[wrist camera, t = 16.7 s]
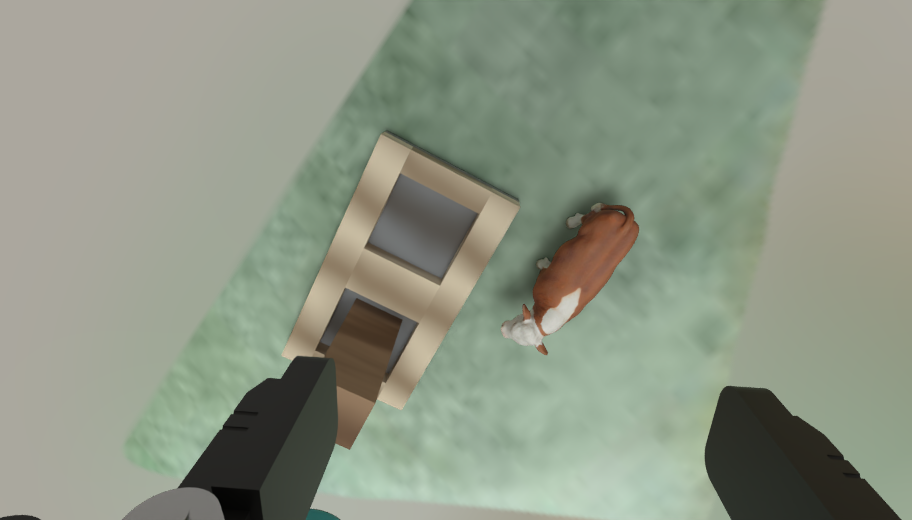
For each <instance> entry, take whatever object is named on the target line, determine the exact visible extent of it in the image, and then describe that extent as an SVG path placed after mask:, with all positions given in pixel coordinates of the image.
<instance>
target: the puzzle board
mask: <svg viewBox="0 0 912 520" xmlns="http://www.w3.org/2000/svg"><path fill="white" fill-rule="evenodd" d="M519 209H520V203H519V200H518V199H516V198H514V197H512V196H510V195H509V194H507V193H505V192H503V191H501V190H499V189H497V188H495V187H493V186H491V185H490V184H488V183H486V182H484V181H482V180H480V179H478V178H476V177H474V176H472V175H471V174H469V173H467V172H465V171H463V170H461V169H459V168H457V167H455V166H453V165H452V164H450V163H448V162H446V161H444V160H442V159H440V158H438V157H436V156H434V155H433V154H431V153H429V152H427V151H425V150H423V149H421V148H419V147H417V146H415V145H414V144H412V143H410V142H408V141H406V140H404V139H402V138H400V137H398V136H396V135H395V134H393V133H391V132H389V131H387V130H386V131H385V132H383V133H382V134H381V135H380V137H379V139H378V142H377V144H376V146H375V148H374V150H373V153H372V155H371V157H370V159H369V162H368V164H367V166H366V168H365V170H364V173H363V175H362V177H361V179H360V182H359V184H358V186H357V188H356V191H355V193H354V195H353V197H352V199H351V202H350V204H349V206H348V208H347V211H346V213H345V215H344V217H343V219H342V222H341V224H340V226H339V228H338V231H337V233H336V235H335V237H334V239H333V242H332V244H331V246H330V248H329V251H328V253H327V255H326V257H325V259H324V262H323V264H322V266H321V268H320V271H319V273H318V275H317V277H316V280H315V282H314V284H313V286H312V288H311V291H310V293H309V295H308V297H307V300H306V302H305V304H304V306H303V308H302V311H301V313H300V315H299V317H298V320H297V322H296V324H295V326H294V328H293V331H292V333H291V335H290V337H289V340H288V342H287V344H286V346H285V348H284V351H283V353H282V355H281V356H283V357H286V358H288V359H290V360H292V361H293V359H294V358H295V357H296V356H310V357H324V356H325V354H326V352H327V350H328V349H329V347H330V345H331V343H332V341H333V340H334V338H335V336H336V334H337V332H338V331H339V329H340V327H341V325H342V323H343V322H344V320H345V318H346V316H347V314H348V313H349V311H350V309H351V307H352V305H353V304H354V302H355V300H356V298H358V299H360V300H362V301H364V302H366V303H368V304H370V305H373V306H375V307H377V308H379V309H381V310H383V311H385V312H387V313H389V314H392V315H394V316H396V317H398V318H400V319H402V323H401V326H400V329H399V332H398V335H397V338H396V341H395V344H394V347H393V351H392V354H391V357H390V360H389V363H388V366H387V369H386V372H385V375H384V378H383V381H382V384H381V387H380V390H379V393H378V396H377V399H378V400H380V401H382V402H384V403H387V404H389V405H391V406H393V407H395V408H397V409H400V410H402V409H403V407H404V405H405V403H406V402H407V400H408V398H409V397H410V395H411V393H412V391H413V390H414V388H415V386H416V385H417V383H418V381H419V380H420V378H421V376H422V374H423V373H424V371H425V369H426V368H427V366H428V364H429V362H430V361H431V359H432V357H433V356H434V354H435V352H436V350H437V349H438V347H439V345H440V344H441V342H442V340H443V339H444V337H445V335H446V333H447V332H448V330H449V328H450V327H451V325H452V323H453V321H454V320H455V318H456V316H457V315H458V313H459V311H460V309H461V308H462V306H463V304H464V303H465V301H466V299H467V298H468V296H469V294H470V292H471V291H472V289H473V287H474V286H475V284H476V282H477V280H478V279H479V277H480V275H481V274H482V272H483V270H484V268H485V267H486V265H487V263H488V262H489V260H490V258H491V256H492V255H493V253H494V251H495V250H496V248H497V246H498V245H499V243H500V241H501V239H502V238H503V236H504V234H505V233H506V231H507V229H508V227H509V226H510V224H511V222H512V221H513V219H514V217H515V215H516V214H517V212H518V210H519Z"/></svg>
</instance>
